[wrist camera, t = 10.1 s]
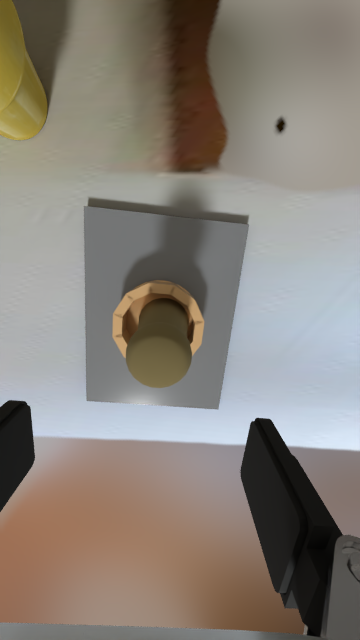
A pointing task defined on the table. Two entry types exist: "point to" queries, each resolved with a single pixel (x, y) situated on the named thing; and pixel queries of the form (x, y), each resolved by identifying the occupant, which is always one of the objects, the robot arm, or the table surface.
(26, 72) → the plant pot
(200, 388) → the slate board
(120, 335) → the tan shallow bowl
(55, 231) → the table surface
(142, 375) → the cork
